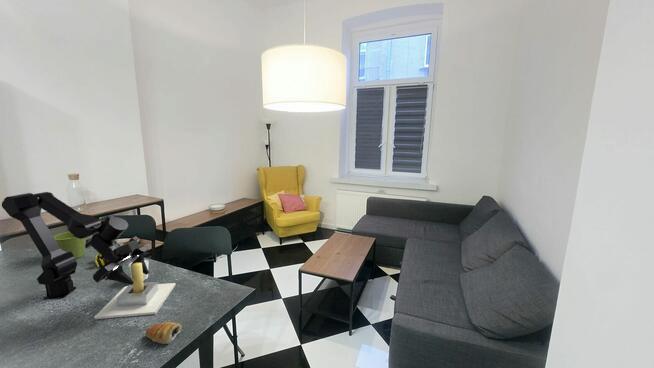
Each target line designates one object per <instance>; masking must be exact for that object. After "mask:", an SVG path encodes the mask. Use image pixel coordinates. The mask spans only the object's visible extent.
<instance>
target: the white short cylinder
mask: <svg viewBox="0 0 654 368" xmlns="http://www.w3.org/2000/svg"><path fill="white" fill-rule="evenodd" d="M144 261H145V264H146V266H147V269H148V270H149V264H150V261H149V260H148V259H145V258H144ZM132 263H133V262H132V261H131V262H129V263H128V265H127V266H128V270H129V275H130V278H131V279H132V274H131V264H132ZM148 278H149V273H148V274H147V275H146V274H144V273H143V282H144V281H145V279H146V280H147V279H148Z"/></svg>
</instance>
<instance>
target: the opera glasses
mask: <svg viewBox="0 0 654 368" xmlns="http://www.w3.org/2000/svg"><path fill="white" fill-rule="evenodd" d="M100 256H101V254H100V253H98V254H97V255H95V260H94V262H95V265H96V266H97V268H98V269H99V268H100V267H101V266H103V265H105V264H107V263H109V262H108V261H107V260H106V259H105V258H104V259H102V260H101V259H100Z"/></svg>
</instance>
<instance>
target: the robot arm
mask: <svg viewBox="0 0 654 368" xmlns="http://www.w3.org/2000/svg"><path fill="white" fill-rule="evenodd" d="M1 208H2V209H3V210H4V211H5V212H6V214H7V215H8V216H9V217H11V218H13V219H15V220H17V221H19V222H20V223H21V224H22V225H23V227H24V229H25V230H26V232H27V234H28V235H29V237H30V239H31V240H32V242H33V243H34V245H35V247H36V248H37V250H38V252H39V253H40V255H41V257H42V260H41V264H40V265H41V266H40V267H41V269H42V272H41V274H39V276H38V277H37V278H36V280H37V282H38V285H44V287H45V292H46V295H45V296H43V298H42V299H43V300H51V299H52V300H55V299H64V298H66V296H68V295H70V294H71V293H72V292H74V291H75V290H76V289H77V287H76V286H74V281H73V279H72V276H71V275H74V274H75V273H76V270H77V266H78V258H75V257H74V255H73V253H72V252H71V251H69V252H65V251H63V250H61V248H60V247H59V245H58V243H57V242H56V240H55V238H54V234H53V233H52V232H51V230H50V229H49V227H48V226H47V223H46V222H45V220H44V219H43V217H42V216H41V213H42V210H44V211H45V212H46V213H48V214H50V215H51V216H52V217H54V218H56V219H57V220H59V221H60V222H62V223H64V224H65V225H66V227H67V232H71V233H72V234H73V235H74V236H75V237H77V238H79V239H81V238H85V247H84V249H88V248H91V247H92V248H93V249H94V250H95V251H96V252H97V253H98V254H101V256H100V259H101V260H102V259H104V258H105V259H106V260H107V261H108V262H109V263H107V264H105V265H103V266H100V267H99V268H98V269H97V270H96V271H95V272H94V273H93V274H92V279H93V280H94V281H95V282H96V283H100V282H102V280H104V281H113V282H119V283H122V284H127V285H128V286H129V285H133V284H134V282H133V281H132V279H131V276H129V275H128V274H127V273H126V272H125V271H124V267H123V265H124V264H126V263H128V262H130V261H131V262H133V263H132V264H134V263H142V271H143V273H144V274H146V275H147V274H148V275H149V273H150V271H149V268H148V269H147V266H146V264H145V261H144V259H145V255H147V254H146V253H147V252H148V251H149V250H150V248H149V247H148V246H147V245H146V244H141V243H142V240H141V239H140V238H139V237H137V236H134V237H131V238H130V239H128V242H127V243H123V242H122V241H119V242H117V241H116V240H117V239H119V237H121V235H122V234H123V233H124V232H125V231H126V230H127V229H128V227H129V223H128V222H127V220H126V219H123V218H121V217H116V216H114V214H113V215H108V216H107V217H106V218H105V219H104V220H100V219H99V218H97V217H95V216H93V215H91V214H86V213H85V214H84V213H81V212H79V211H78V210H76V209H75V208H73V207H71V206H70V205H68V204H67V203H65V202H63V201H62V200H60V199H59V198H58V197H55V195H54V194H53V193H52V192H50V191H44V192H43V191H42V192H39V193H38V192H37V193H31V192H27V193H22V194H15V195H11V196H6V197H5V198H3V200H2V202H1ZM91 236H92V237H91ZM88 237H90V238H88ZM86 238H88V239H86ZM140 244H141V245H140ZM132 264H131V265H132Z"/></svg>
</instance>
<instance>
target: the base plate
mask: <svg viewBox="0 0 654 368" xmlns="http://www.w3.org/2000/svg"><path fill="white" fill-rule="evenodd" d="M128 286H129V285H127V286H124V287H123V288H122V289H121V290H119V292H118V293H117V294H115V296H113V298H112V299H110V301H109V302H107V304H105V306H104V307H102V308H101V309H100V310H99V312H98V313H96V314H95V316H93V319H94V320H100V319H101V320H102V319H103V320H104V319H114V318H125V317H134V316H135V317H136V316H149V315H156V314H157V312H158V311H160V308H161V307H162V305H163V304H164V303H165V301H166V299H167V298H168V297H169V295H170V294H171V292H172V291H173V289H174V288H175V287H176V282H172V283H171V282H170V283H158V291H157V292H156V294H155V295H154V296H153V298H152V299H151V300H150V301H149V303H148V304H147V305H138V306H125V307H118V304H117V297H118V296H119V295H120V294H121V293H122V292H123V291H124V290H125V289H126V288H127V287H128Z"/></svg>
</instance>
